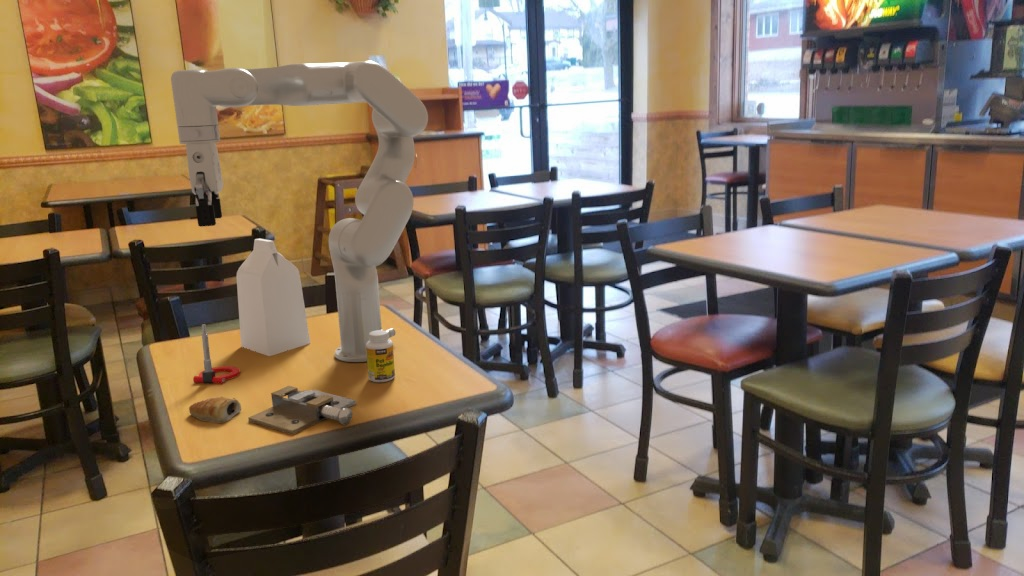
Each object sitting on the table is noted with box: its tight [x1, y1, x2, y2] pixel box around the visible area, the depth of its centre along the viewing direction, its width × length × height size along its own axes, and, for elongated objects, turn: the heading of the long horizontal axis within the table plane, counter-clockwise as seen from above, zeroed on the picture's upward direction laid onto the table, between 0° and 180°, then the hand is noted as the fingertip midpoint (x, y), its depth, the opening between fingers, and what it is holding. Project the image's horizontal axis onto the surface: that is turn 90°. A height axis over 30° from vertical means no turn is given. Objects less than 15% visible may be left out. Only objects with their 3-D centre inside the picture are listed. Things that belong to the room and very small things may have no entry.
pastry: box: [188, 396, 242, 424], centre depth 151 cm, size 9×7×4 cm
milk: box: [236, 237, 311, 357], centre depth 189 cm, size 12×12×26 cm
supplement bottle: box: [366, 329, 396, 383], centre depth 166 cm, size 6×6×10 cm
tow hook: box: [193, 323, 241, 385], centre depth 170 cm, size 8×13×9 cm
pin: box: [301, 400, 353, 426], centre depth 147 cm, size 3×13×3 cm, turn 57°
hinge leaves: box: [248, 385, 357, 436], centre depth 150 cm, size 16×12×4 cm
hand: (210, 221), depth 158 cm, fingers open, 9 cm apart
